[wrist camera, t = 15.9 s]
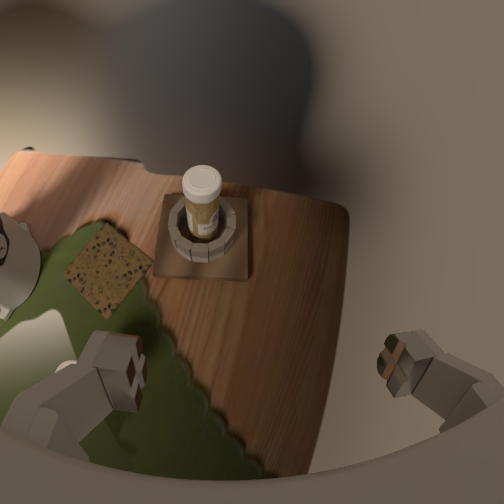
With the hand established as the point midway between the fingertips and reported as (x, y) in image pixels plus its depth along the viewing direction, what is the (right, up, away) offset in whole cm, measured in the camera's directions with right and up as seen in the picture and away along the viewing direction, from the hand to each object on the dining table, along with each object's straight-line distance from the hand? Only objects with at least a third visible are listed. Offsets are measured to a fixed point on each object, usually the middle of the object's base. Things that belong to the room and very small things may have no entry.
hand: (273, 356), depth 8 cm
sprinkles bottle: (-8, +6, +35) cm, 36 cm away
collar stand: (-9, +6, +36) cm, 37 cm away
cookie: (-24, 0, +32) cm, 40 cm away
